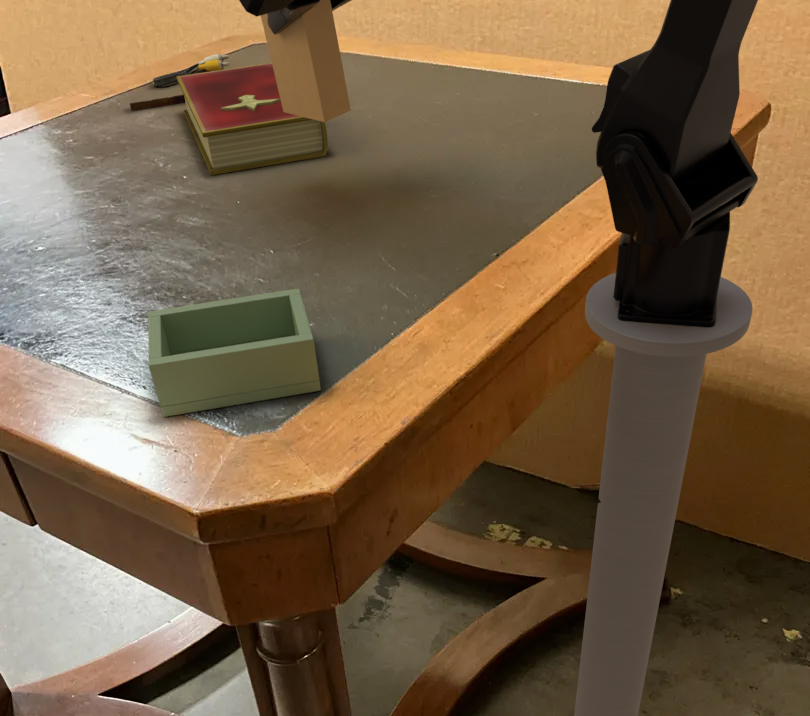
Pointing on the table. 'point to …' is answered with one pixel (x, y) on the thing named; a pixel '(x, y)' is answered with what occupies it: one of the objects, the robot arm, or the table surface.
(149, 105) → the dark brown stick
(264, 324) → the holder
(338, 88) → the tan rectangular block
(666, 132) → the robot arm
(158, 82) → the composite cable
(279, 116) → the hardcover book
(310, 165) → the table surface
